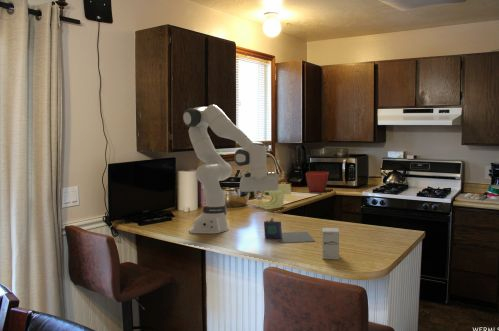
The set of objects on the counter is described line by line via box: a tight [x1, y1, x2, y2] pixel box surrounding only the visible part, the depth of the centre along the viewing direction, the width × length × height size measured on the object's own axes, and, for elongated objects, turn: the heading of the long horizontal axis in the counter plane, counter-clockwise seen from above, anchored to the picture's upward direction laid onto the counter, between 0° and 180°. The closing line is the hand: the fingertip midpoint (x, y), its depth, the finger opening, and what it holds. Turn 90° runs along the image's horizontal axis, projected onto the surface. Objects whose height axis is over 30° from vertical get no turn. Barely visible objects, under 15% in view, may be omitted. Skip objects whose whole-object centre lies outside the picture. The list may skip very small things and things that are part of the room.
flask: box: [263, 217, 283, 240], centre depth 229 cm, size 9×3×11 cm, turn 74°
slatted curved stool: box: [256, 183, 292, 210], centre depth 320 cm, size 30×16×18 cm, turn 31°
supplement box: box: [321, 227, 340, 260], centre depth 194 cm, size 7×7×13 cm
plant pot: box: [305, 171, 330, 193], centre depth 388 cm, size 19×19×17 cm
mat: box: [277, 231, 316, 244], centre depth 230 cm, size 18×20×1 cm
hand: (259, 199), depth 227 cm, fingers closed
